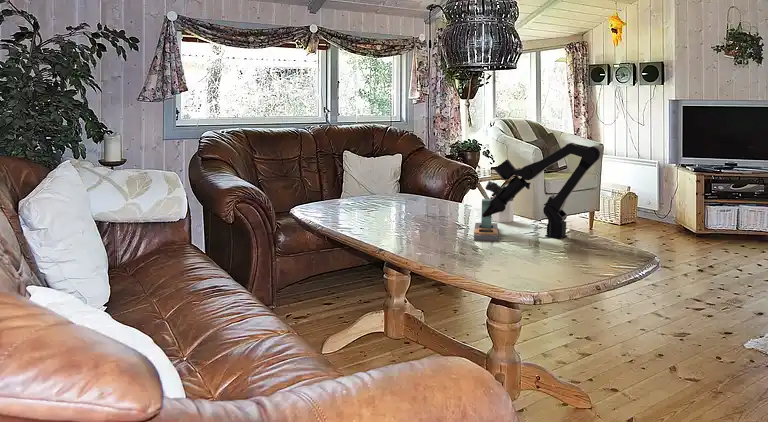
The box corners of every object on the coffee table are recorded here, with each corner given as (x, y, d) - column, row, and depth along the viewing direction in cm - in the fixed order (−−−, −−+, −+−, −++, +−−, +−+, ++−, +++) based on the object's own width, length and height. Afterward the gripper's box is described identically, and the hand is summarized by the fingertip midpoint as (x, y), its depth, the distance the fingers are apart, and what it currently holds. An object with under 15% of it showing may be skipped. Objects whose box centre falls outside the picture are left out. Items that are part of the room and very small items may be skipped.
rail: (475, 227, 269) (475, 221, 269) (497, 228, 268) (497, 222, 267) (473, 240, 244) (473, 234, 244) (497, 241, 243) (497, 235, 242)
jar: (512, 219, 287) (513, 192, 285) (514, 222, 279) (515, 195, 277) (492, 219, 288) (492, 192, 286) (493, 222, 280) (494, 195, 278)
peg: (481, 230, 263) (482, 199, 261) (491, 230, 262) (492, 199, 260) (481, 232, 259) (481, 200, 257) (491, 232, 258) (492, 200, 256)
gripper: (497, 171, 265) (470, 197, 269) (497, 177, 247) (468, 204, 251) (516, 191, 265) (488, 216, 269) (517, 198, 247) (487, 225, 251)
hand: (483, 215), depth 260 cm, fingers open, 5 cm apart
